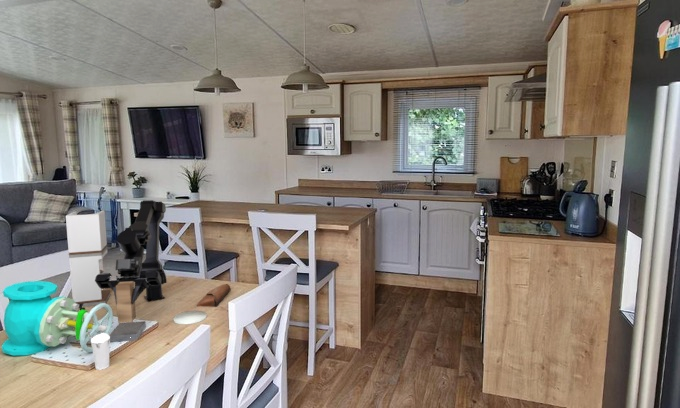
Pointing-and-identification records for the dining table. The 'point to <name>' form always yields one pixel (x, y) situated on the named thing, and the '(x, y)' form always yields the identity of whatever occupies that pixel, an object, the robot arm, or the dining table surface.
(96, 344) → the milkshake
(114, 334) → the metal stand
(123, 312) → the walnut post
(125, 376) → the dining table surface
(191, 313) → the ceramic coaster
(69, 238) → the tall white block
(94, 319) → the valve
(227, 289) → the sunglasses case
